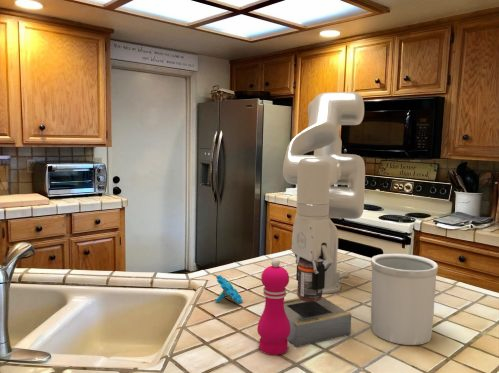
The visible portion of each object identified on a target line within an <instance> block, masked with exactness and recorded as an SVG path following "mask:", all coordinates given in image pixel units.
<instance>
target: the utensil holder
mask: <svg viewBox="0 0 499 373" xmlns="http://www.w3.org/2000/svg"><path fill="white" fill-rule="evenodd" d="M370 264H371V265H370V266H371V295H370V297H371V298H370V324H371V326H370V329H371V332H373V334H374V335H376V336H377V337H378V338H380V339H383V340H385V341H386V342H391V343H394V344H398V345H404V346H405V345H407V346H418V345H423V344H426V343H428V342H430V341H431V340H432V335H433V324H434V313H435V298H436V296H435V295H436V284H437V283H436V282H437V274H438V271H439V265H438V263H437V262H435V261H434V260H432V259H429V258H427V257H423V256H419V255H415V254H406V253H382V254H377V255H373V256H372V257H371V259H370Z"/></svg>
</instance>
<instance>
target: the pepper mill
mask: <svg viewBox="0 0 499 373" xmlns="http://www.w3.org/2000/svg"><path fill="white" fill-rule="evenodd" d="M260 278H261V279H260V280H261V281H260V282H261V284H262V285H263V286H264V287H263V291H262V292H263V293H262V294H263V296H264V297H265V302H264V304H265V306H264V308H263V311H262V313H261V315H260V317H259V319H258V323H257V328H256V329H257V333H258V335H259V337H260V338H259V343H258V344H259V346H258V348H259V350H260V351H261V352H262V353H264V354H267V355H272V356H274V355H275V356H277V355H282V354H284V353H286V352H287V351H288V349H289V341H288V340H287V339H286V338H287V337H288V336H289V335H290V323H289V320H288V318H287V315H286V313H285V310H284V300H285V297H286V296H287V288H286V287H288V285H289V282H290V275H289V272H288V270H287V269H286V268H285V267H282V266H280V261H279V260H278V259H276V258H275V259H273V260H272V261H271V265H269V266H267V267H266V268H264V269H263V271H262V273H261V276H260Z"/></svg>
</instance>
